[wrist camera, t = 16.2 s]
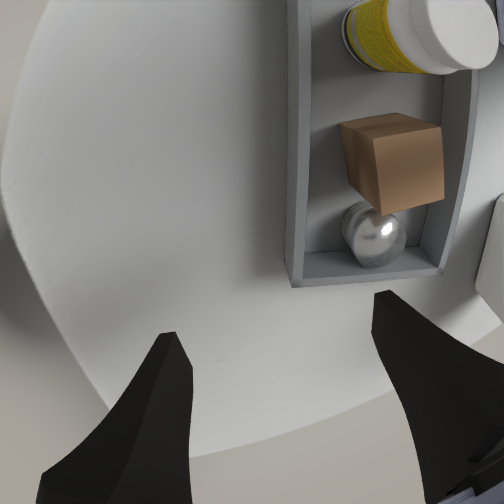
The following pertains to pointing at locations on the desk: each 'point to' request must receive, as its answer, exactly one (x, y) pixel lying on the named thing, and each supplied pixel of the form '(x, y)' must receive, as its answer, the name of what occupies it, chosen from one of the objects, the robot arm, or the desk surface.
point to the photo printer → (493, 263)
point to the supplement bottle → (421, 35)
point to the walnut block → (394, 161)
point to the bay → (298, 155)
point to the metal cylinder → (373, 235)
